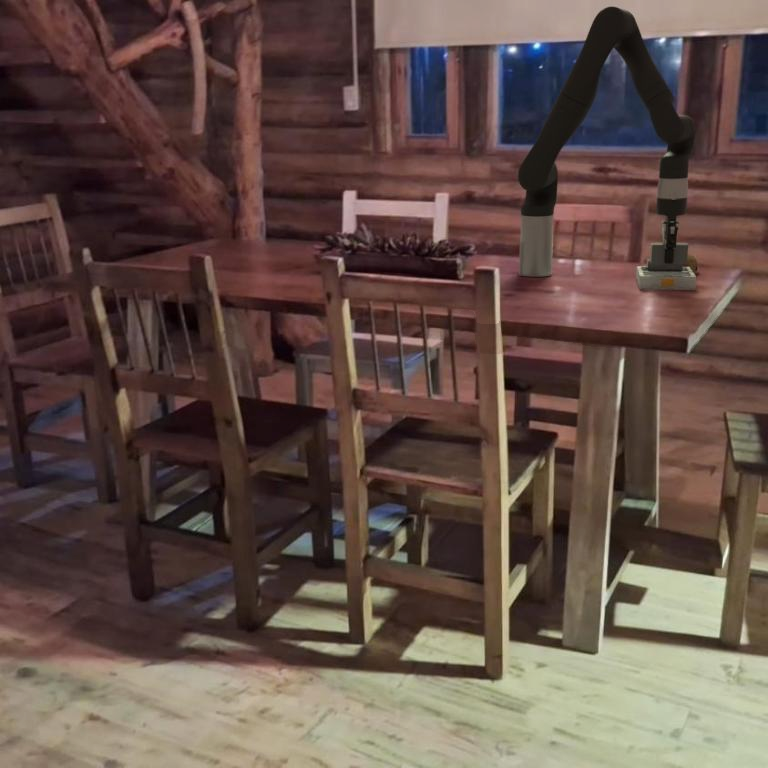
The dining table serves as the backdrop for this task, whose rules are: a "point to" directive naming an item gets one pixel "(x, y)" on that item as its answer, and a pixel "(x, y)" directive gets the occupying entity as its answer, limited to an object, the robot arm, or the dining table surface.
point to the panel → (659, 253)
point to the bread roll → (691, 263)
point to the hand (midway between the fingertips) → (667, 261)
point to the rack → (665, 277)
